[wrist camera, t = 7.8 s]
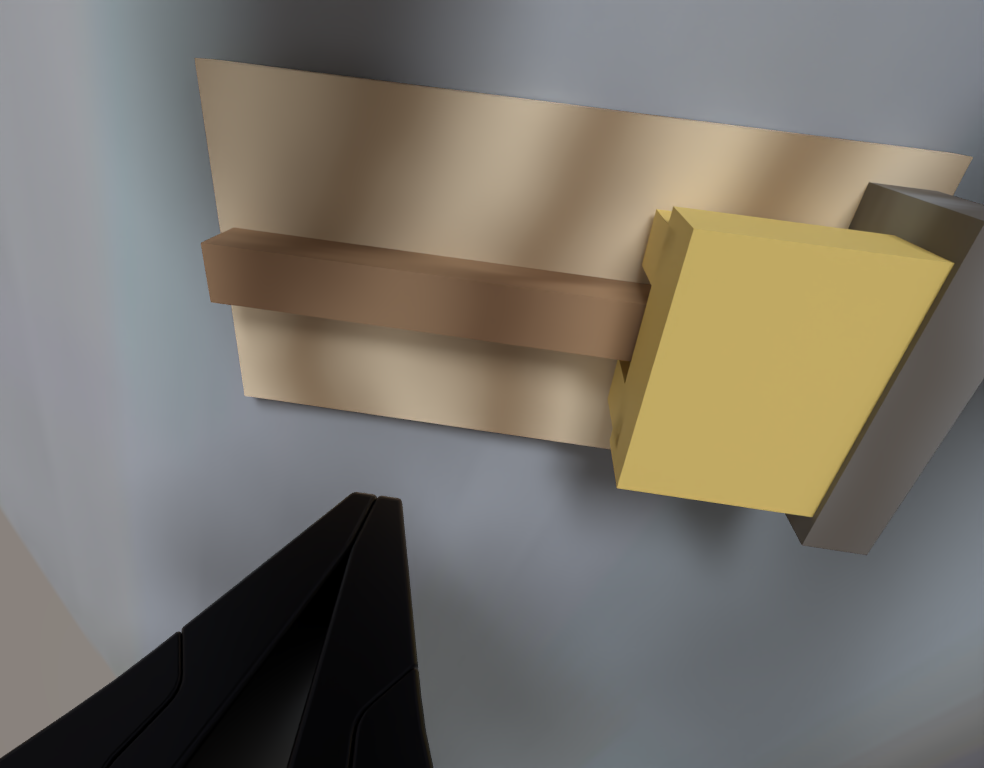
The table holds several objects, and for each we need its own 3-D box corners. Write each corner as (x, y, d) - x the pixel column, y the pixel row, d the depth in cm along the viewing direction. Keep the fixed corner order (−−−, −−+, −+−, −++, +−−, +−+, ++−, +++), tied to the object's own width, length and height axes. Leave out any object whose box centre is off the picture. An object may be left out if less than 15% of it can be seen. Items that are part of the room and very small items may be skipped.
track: (950, 152, 16) (1136, 189, 11) (795, 462, 22) (868, 579, 17) (212, 59, 17) (63, 51, 12) (256, 383, 23) (170, 472, 18)
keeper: (858, 218, 16) (954, 263, 12) (762, 432, 20) (812, 517, 16) (660, 192, 16) (693, 228, 13) (604, 409, 20) (616, 488, 17)
